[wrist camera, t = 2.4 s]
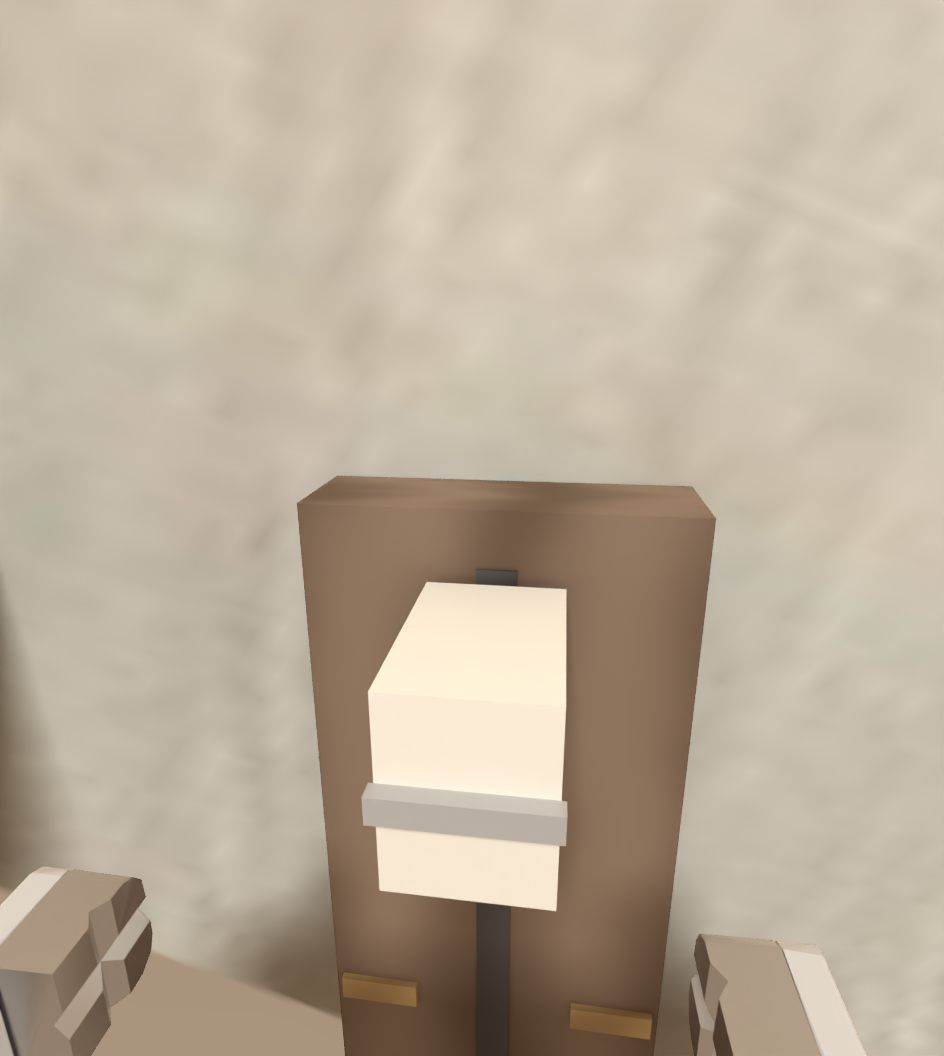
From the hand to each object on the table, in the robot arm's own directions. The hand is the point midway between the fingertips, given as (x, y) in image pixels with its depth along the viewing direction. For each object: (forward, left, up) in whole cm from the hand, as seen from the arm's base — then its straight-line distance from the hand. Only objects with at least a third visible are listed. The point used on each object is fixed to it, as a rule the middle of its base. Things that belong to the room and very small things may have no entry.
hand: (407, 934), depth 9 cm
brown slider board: (-1, +6, -11) cm, 12 cm away
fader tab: (-1, 0, -8) cm, 8 cm away
